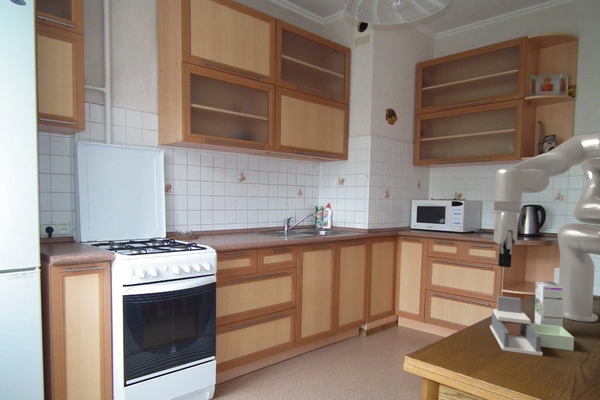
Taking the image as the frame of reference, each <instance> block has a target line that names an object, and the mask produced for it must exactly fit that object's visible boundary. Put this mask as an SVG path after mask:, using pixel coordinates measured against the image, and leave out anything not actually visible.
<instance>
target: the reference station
mask: <svg viewBox="0 0 600 400" xmlns="http://www.w3.org/2000/svg"><path fill="white" fill-rule="evenodd" d="M489 328H490V330H491V332H492V334H493V337H495V339H496V341H497V342H498V345H499V347H500V348H501V350H502V351H505V352H512V353H518V354H519V353H520V354H526V355H533V356H543V351H542V350H541V336H540V335H539V334H538V333H537V332H536V331H535V330H534V329H533V327H532V326H531V325H530V324H526V323H517V322H509V321H500V320H498V319H497V317H496V316H495V314H494V313H493V312H492V314H491V324H490V325H489Z"/></svg>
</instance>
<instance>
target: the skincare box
mask: <svg viewBox="0 0 600 400" xmlns="http://www.w3.org/2000/svg"><path fill="white" fill-rule="evenodd" d="M553 270H554V272H553V282H555V283H557V284H559V275H560V267H554V268H553Z"/></svg>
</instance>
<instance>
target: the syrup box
mask: <svg viewBox="0 0 600 400" xmlns="http://www.w3.org/2000/svg"><path fill="white" fill-rule="evenodd" d="M563 291H564V287H563V286H561V285H559V284H557V283H555V282H554V281H546V280H543V281H542V280H541V281H540V280H536V281H535V291H534V292H535V293H534V322H533V323H536V324H544V325H553V326H561V327H563V328H564V326H563V323H564V322H563V321H564V318H563Z"/></svg>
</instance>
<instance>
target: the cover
mask: <svg viewBox="0 0 600 400" xmlns="http://www.w3.org/2000/svg"><path fill="white" fill-rule="evenodd" d="M521 310H522V299H521V298H520V297H510V296H501V295H497V297H496V308H492V313H494V314H495V316H496V317H497V319H498V320H500V321H509V322H517V323H526V324H531V323H532V321H531V319H530V318H529V317H528V316H527V315H526V313H525V312H523V311H521Z"/></svg>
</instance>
